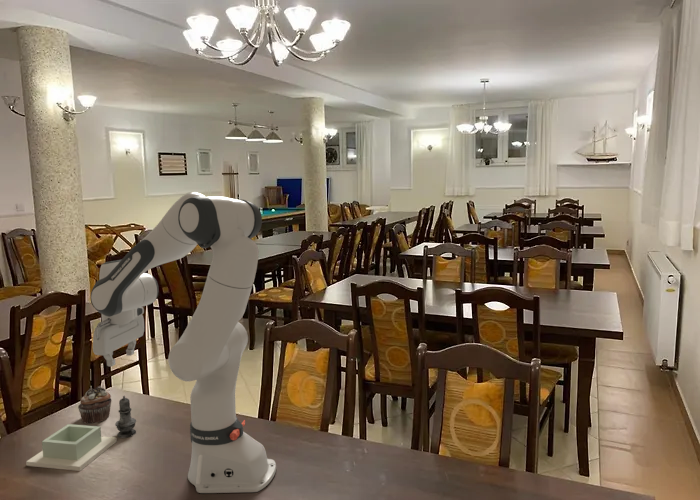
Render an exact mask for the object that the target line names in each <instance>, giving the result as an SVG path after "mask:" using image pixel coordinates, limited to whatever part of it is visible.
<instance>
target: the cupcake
mask: <svg viewBox="0 0 700 500" xmlns="http://www.w3.org/2000/svg"><path fill="white" fill-rule="evenodd" d="M112 402H113V401H112V396H111V394H110V393H109V391H106V388H104V387H103V386H101V385H99V386H97V387H95V388H92V387H90V388H89V389H88V390H87V391H86V392H85V394H84V396H82V397H81V398H80V404H78V406H77V409H78V411H79V415H80V417H81V421H82V422H83V424H87V425H88V424H91V425H92V424H98V423H101V422H103V421H106V420H107V419H109V416H110V412H111V406H112Z"/></svg>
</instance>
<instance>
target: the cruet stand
mask: <svg viewBox="0 0 700 500" xmlns="http://www.w3.org/2000/svg"><path fill="white" fill-rule="evenodd" d="M101 428H102V427H101V426H96V425H85V424H71V423H67V424H66V425H64V426H63V427H62V428H60V429H59V430H57V431H55V432H54V433H52V434H51V435H49V436H48V437H46V438H44V440H42V441H41V449H42V450H41V451H40V452H38V453H36V454H35V455H33V456H32V457H30V458H29V459H27V460H26V462H25V463H26V466H27V467H36V468H37V467H38V468H46V469H47V468H48V469H55V470H56V469H57V470H68V471H76V472H77V471H78V472H81V471H82V470H83V469H85V468H86V466H88V465H90V464H91V463H92V462H93V461H94V460H95V459H97V458H98V457H99V456H101V455H102V454H103V453H104V452H106V451H107V450H108V449H109V448H111V446H113V445H114V444H115V443H116V442H117V437H114V436H112V437H111V436H102V430H101Z"/></svg>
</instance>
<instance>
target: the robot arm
mask: <svg viewBox="0 0 700 500" xmlns="http://www.w3.org/2000/svg"><path fill="white" fill-rule="evenodd" d="M262 224H263V218H262V212H261V210H260V208H259V207H258V206H257V205H256V204H254V203H253V202H251V201H248V200H246V199H237V198H232V197H227V196H222V195H221V196H220V195H211V196H210V195H209V196H206V195H204V194H203V193H201V192H197V191H191V192H187V193H185V194H183V195H182V196H181V197H180V198H179V199H177V200H176V201H175V202H174V203H173V204H172V205H171V207H170V208H169V209H168V210H167V211H166V213H165V214H164V216H163V217H162V219H161V220H160V221H159V222H158V223H157V224H156V225H155V227H154V228H153V229H152V230H151V231H150V232H149V233H148V234H147V235H145V237H143V238H142V239H141V240H140V241H139V242H138V243H136V244H135V245H134V246H133V247H132V248H131V249H130V250H129V251H128V252H127V253H126V254H125V256H123V258H122V259H117V260H116V259H115V260H111V261H106V262H103V263H102V264H101V266H100V268H99V280H97V281H96V282H95V284H94V285H93V287H92V289H91V292H90V298H89V299H90V302H91V303H90V304H91V305H92V307H93V309H95V310H96V311H97V312H98V313H99V314H101V321H100V322H98V323H97V325H96V327H95V328H94V331H93V333H92V334H93V335H92V336H93V337H92V352H93V353H94V355H96V356H103V358H104V359H105V360H106V366H107V367H113V366H115V365H116V359H115V358H113V355H114V351H117V350H118V349H120V348H122V347H124V346H126V345H127V348H126V349H125V352H126V356H128V357H129V356H130V357H131V356H133V355H135V348H136V344H137V339H139V338H141V337H143V336H144V332H145V319H144V315H143V314H144V313H145V309H144V307H145V306H149V305H151V304H153V303H154V302H155V301H156V300H157V298H158V296H159V292H160V291H159V284H158V281H157V279H156V278H155V277H154V276H153V275H152V274H151V273H148V271H149V270H150V269H153V268H155V267H158V266H162V265H164V264H167V263H170V262H174V261H177V260H181V259H182V258H183V259H184V257H186V256H187V255H188V254H190V253H191V252H192V251H193V250H194V249H195V248H196V247H197V246H199V247H200V248H202V249H207V248H210V249H211V251H212V259H211V260H212V261H211V263H210V266H209V270H208V273H207V276H206V279H205V284H204V286H203V290H202V293H201V297H200V300H199V302H198V304H197V306H196V309H195V311H194V313H193V315H192V316H191V319H190V320H189V322H188V323H187V326H186V328H185V330H184V331H183V333H182V335H181V336H180V337H179V339H178V341H176V343H175V344H174V345H173V346H172V347H171V349H170V351H169V353H168V356H167V357H168V366H169V369H170V371H171V373H172V374H173V375H174V376H175V377H176V378H177V379H179V380H181V381H184V382H194V381H195V384H194V385H193V387H192V389H191V392H190V413H191V416H190V417H191V418H190V419H191V422H190V425H189V426H190V428H189V429H190V433H189V434H190V442H191V456H190V458H191V459H190V465H189V469H188V472H187V479H188V481H189V483H191V484H192V485H194V486H195V491H196V493H198V494H199V493H200V494H217V493H218V494H219V493H220V494H223V493H225V494H226V493H227V494H228V493H229V494H230V493H257V492H260V491H261V490H263V489H264V488H266V486H268V485H269V484H270V483H271V481H272V480H273V478H274V476H275V474H276V472H277V463H276V461H275V459H272V458H268V456H267V451H266V449H265V447H264V445H263V444H262V443H261V442H259V441H257V440H256V439H254V438H253V437H252V436H251V435H249V434H248V433H246V432H245V431H244V427H245V425H246V420H245V419H244V420H243V421H242V422H240V420H239V418H238V417H237V414H236V413H237V412H236V409H237V408H236V407H237V406H236V389H237V388H236V387H237V380H238V375H239V370H240V366H241V360H242V358H243V357H242V356H243V354H244V351H245V350H246V348H247V345H248V341H249V336H248V331H247V329H246V327H245V326H244V325H243V324H242V323H241V322H239V321H241V319H242V318H243V316H244V314H245V312H246V309H247V305H248V302H249V299H250V296H251V292H252V289H253V286H254V282H255V278H256V275H257V274H256V273H257V269H258V261H259V252H260V251H259V247H258V245H257V243H256V242H255V240H253V238H254V237H256V236H257V235H258V234H259V232H260V231H261V228H262Z"/></svg>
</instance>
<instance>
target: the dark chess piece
mask: <svg viewBox="0 0 700 500" xmlns="http://www.w3.org/2000/svg"><path fill="white" fill-rule="evenodd" d="M130 403H131V402H130V399H129V398H127V397H126V396H125V395H122V398H120V400H119V405H118V406H119V410H118V413H119V419H118V420H117V421H116V422H115V427H116V429H117V430H118V431H119V432H117V434H116V436H117V437H118V438H122V439H125V438H130V437H132V436H134V435H135V434H136V432H137V430H135V429H134V428H135V427H136V423H137V419H136V418H134V417H132V414H131V413H132V412H131V411H132V408H131V405H130Z"/></svg>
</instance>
